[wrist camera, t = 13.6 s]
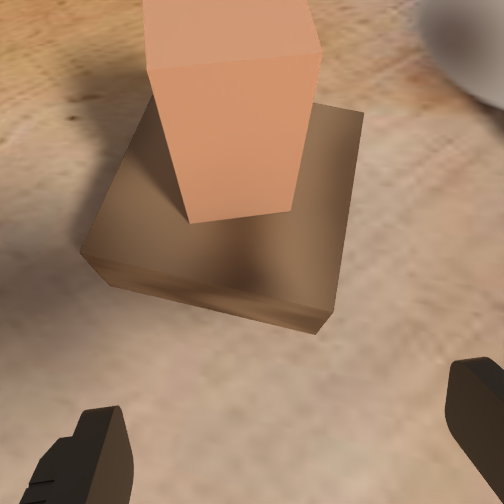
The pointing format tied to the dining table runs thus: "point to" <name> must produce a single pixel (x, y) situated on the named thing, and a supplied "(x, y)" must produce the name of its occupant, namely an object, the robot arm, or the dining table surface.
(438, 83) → the dining table surface
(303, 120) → the peach tall block
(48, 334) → the dining table surface
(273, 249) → the walnut block
